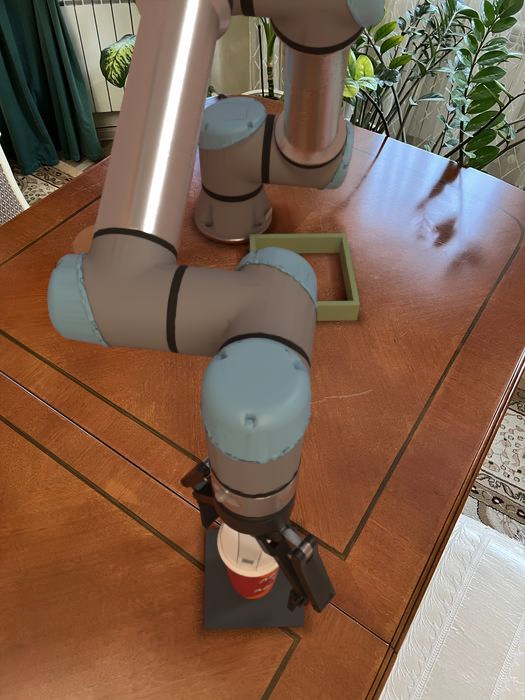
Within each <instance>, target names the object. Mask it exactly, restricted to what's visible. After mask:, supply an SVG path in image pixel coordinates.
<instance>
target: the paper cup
mask: <svg viewBox="0 0 525 700" xmlns="http://www.w3.org/2000/svg"><path fill="white" fill-rule="evenodd" d="M218 529H219V532H218V538H217V545H218V550H219V554H220V556H221V558H222V560H223V561H224V563H225V564H226V568H227V571H228V575H229V578H230V581H231V584H232V586H233V588H234V589H235V591H236V592H237V593H238V594H240V595H241V596H243V597H245V598H249V599H256V598H260V597H262V596H264V595H265V594H267V593H268V592H269V591H270V589H271V588H272V586H273V584H274V582H275V579H276V576H277V573H278V570H279V565H278V564H277V562H276V561H275V559H274V558H273V557H271V556H269V555H268V554H266V553H264V552H263V550H262V549H261V547H260V545H259V544H258V542H257V541H256V539H255V538H253V537H251V536H250V535H246V534H242V533H239V532H237V531H235V530H233V529H231V528H230V527H228V526H227V525H226V524H225V523H224V522H223V521H222V523H221V524H220V526H219V528H218ZM267 541H268V543H269V542H270V540H267Z"/></svg>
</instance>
